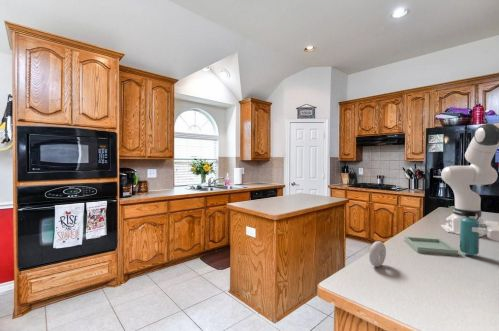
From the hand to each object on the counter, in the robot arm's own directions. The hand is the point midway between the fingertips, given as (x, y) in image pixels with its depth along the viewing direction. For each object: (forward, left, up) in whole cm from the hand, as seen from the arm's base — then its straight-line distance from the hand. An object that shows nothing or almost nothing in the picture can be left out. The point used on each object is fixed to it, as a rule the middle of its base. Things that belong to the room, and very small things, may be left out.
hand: (471, 226), depth 110 cm
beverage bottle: (0, -1, -13) cm, 13 cm away
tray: (-6, -14, -13) cm, 20 cm away
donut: (+22, -43, -13) cm, 50 cm away
